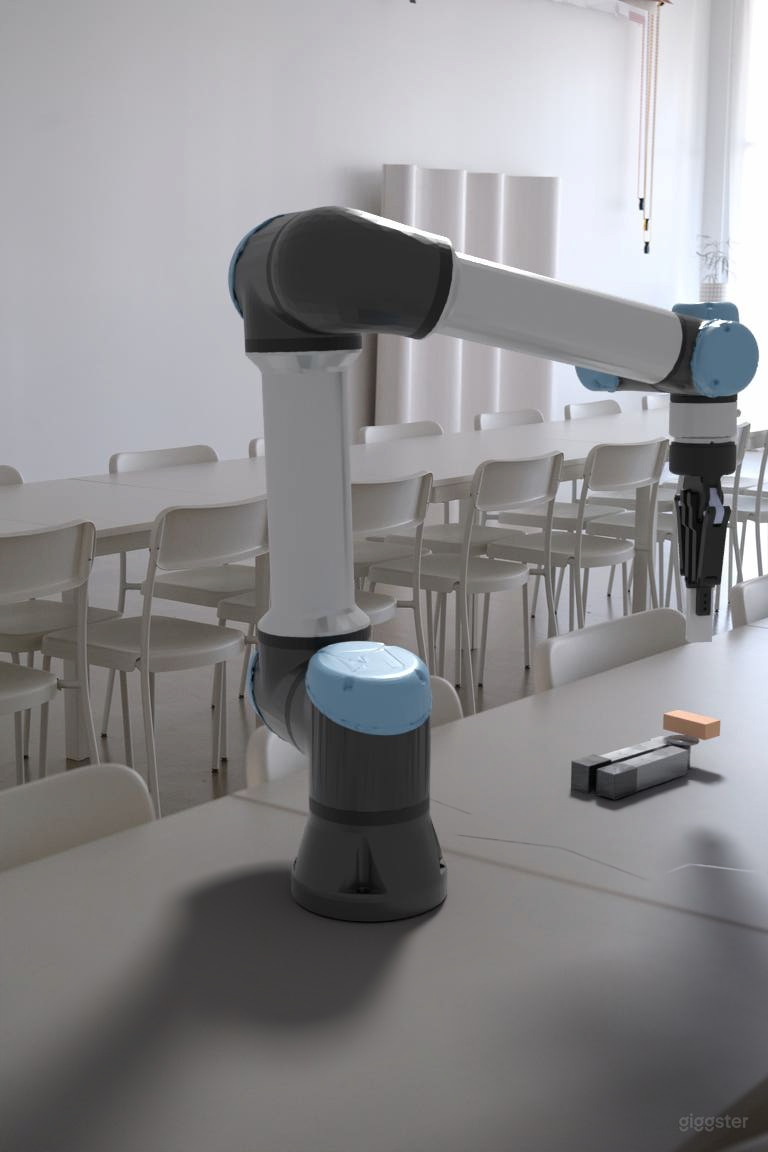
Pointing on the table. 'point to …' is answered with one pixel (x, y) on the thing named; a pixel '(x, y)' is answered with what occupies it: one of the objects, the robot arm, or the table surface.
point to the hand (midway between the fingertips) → (698, 640)
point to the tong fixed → (613, 762)
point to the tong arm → (645, 769)
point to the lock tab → (691, 724)
